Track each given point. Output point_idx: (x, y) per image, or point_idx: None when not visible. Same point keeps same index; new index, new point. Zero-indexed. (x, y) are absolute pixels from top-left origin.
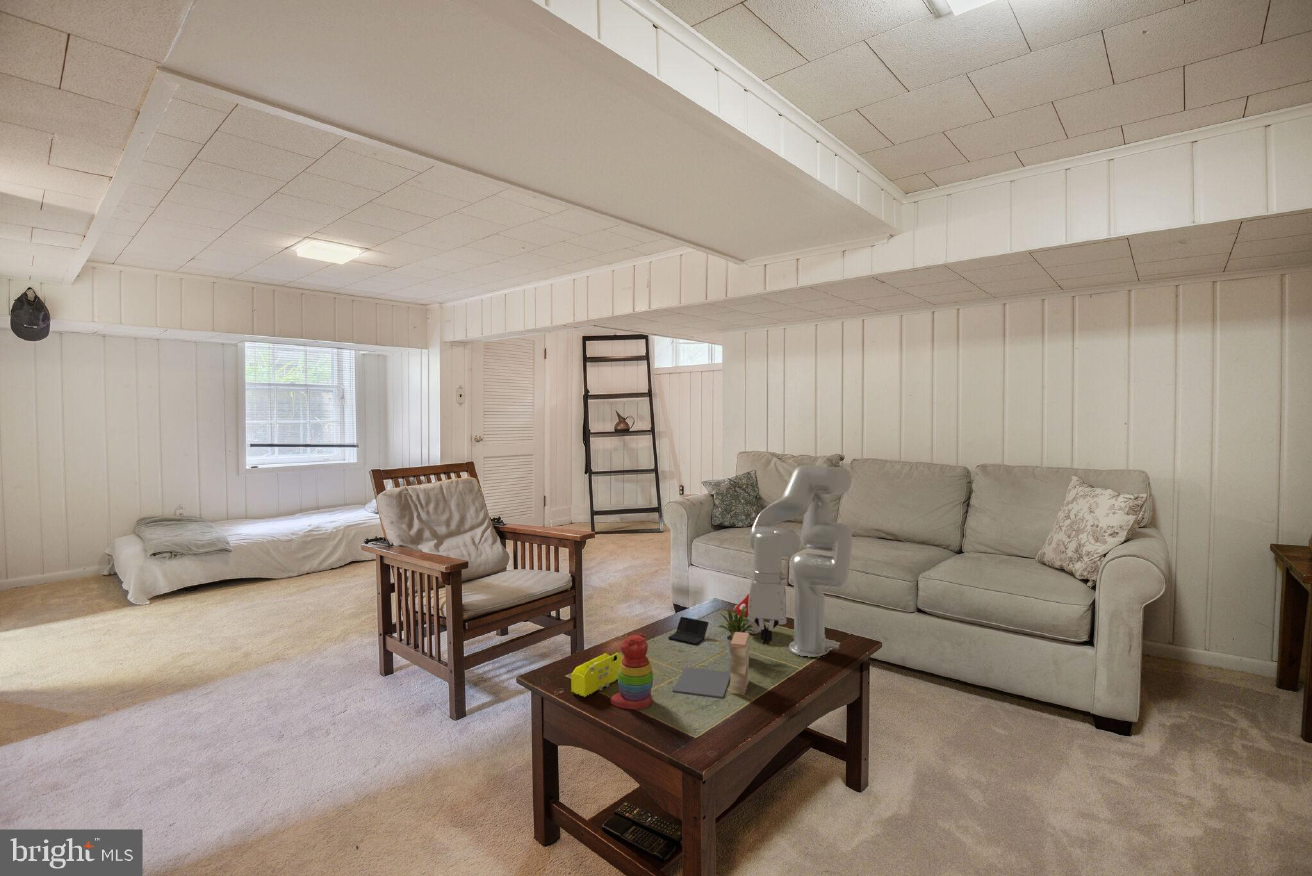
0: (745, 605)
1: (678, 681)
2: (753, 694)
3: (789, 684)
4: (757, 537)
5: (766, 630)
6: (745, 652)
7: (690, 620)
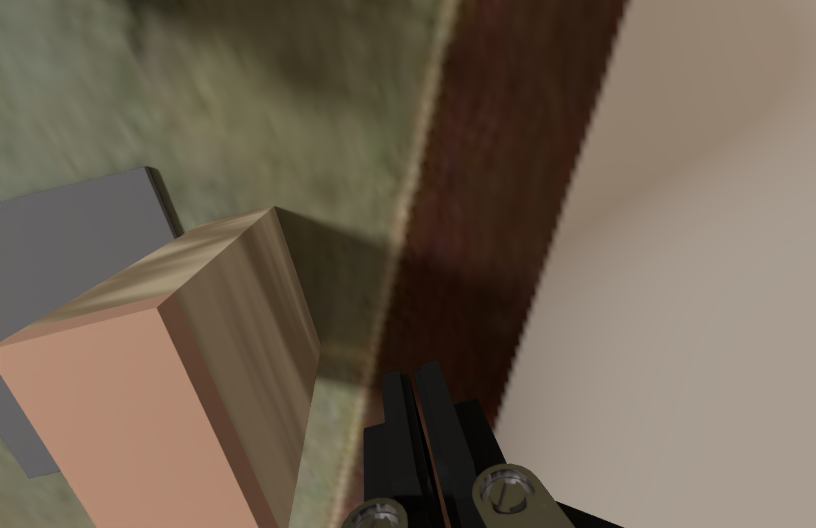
0: None
1: None
2: (352, 324)
3: (471, 140)
4: None
5: (433, 486)
6: (284, 487)
7: None
